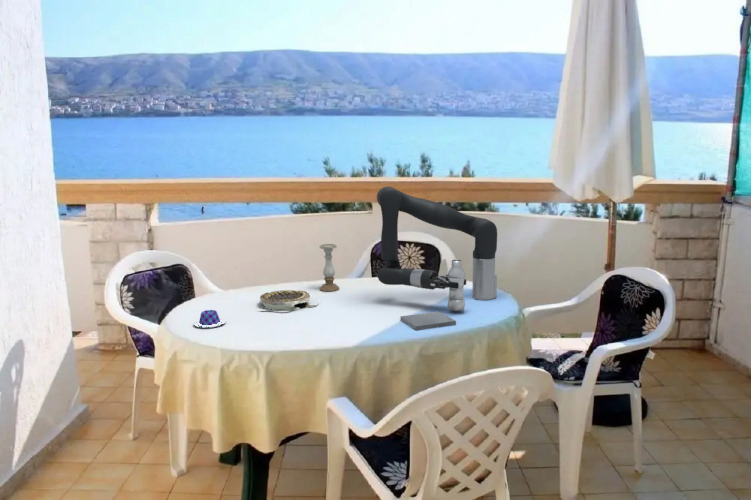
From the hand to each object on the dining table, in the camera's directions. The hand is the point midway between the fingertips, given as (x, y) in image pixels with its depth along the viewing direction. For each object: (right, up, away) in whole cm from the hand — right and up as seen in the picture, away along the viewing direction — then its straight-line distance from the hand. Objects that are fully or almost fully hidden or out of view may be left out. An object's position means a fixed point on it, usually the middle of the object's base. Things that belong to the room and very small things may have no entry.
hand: (462, 283), depth 249 cm
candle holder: (-54, -5, +44) cm, 70 cm away
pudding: (-95, -15, -6) cm, 97 cm away
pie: (-71, -10, +21) cm, 74 cm away
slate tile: (-14, -14, -10) cm, 22 cm away
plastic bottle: (-2, -11, +3) cm, 11 cm away
